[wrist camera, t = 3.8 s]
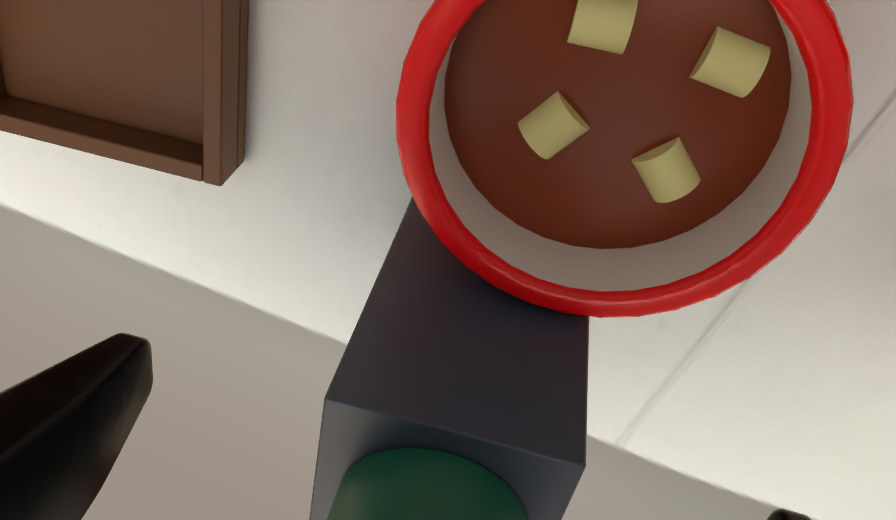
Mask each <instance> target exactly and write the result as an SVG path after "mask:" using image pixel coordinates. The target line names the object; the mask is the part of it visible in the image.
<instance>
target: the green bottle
mask: <svg viewBox="0 0 896 520" xmlns="http://www.w3.org/2000/svg"><path fill="white" fill-rule="evenodd" d="M327 520H527V519H526V515H525V512H524V508H523V506H522V504H521V502H520V500H519V498H518V497H517V496H516V494H515V493H514V491H513V490H512V489H511V488H510V487H509V486H508V485H507V484H506V483H505V482H504V481H503V480H502V479H501V478H499V477H498V476H497V475H496V474H494V473H493V472H491V471H490V470H488V469H487V468H485V467H483V466H482V465H480V464H478V463H476V462H474V461H472V460H469V459H467V458H464V457H462V456H459V455H456V454H452V453H449V452H445V451H440V450H436V449H428V448H415V447H406V448H394V449H388V450H384V451H380V452H377V453H374V454H371V455H369V456H367V457H365V458H363V459H362V460H360V461H358V462H357V463H356V464H354V465H353V466H352V467H351V468H350V469H349V470H348V471H347V472H346V474H345V475H344V476H343V478H342V480H341V482H340V485H339V488H338V490H337V493H336V496H335V499H334V501H333V504H332V507H331V510H330V512H329V515H328V518H327Z"/></svg>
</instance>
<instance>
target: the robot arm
mask: <svg viewBox="0 0 896 520" xmlns="http://www.w3.org/2000/svg"><path fill="white" fill-rule="evenodd" d="M152 383H153V373H152V355H151V345H150V342H149V341H148V340H147V339H145V338H142V337H138V336H135V335H131V334H127V333H118V334H115V335H113V336H111V337H109V338H107V339H105V340H103V341H101V342H99V343H97V344H95V345H93V346H91V347H89V348H87V349H85V350H83V351H81V352H79V353H77V354H76V355H73V356H72V357H69V358H67V359H65V360H63V361H62V362H60V363H58V364H56V365H54V366H52V367H50V368H48V369H46V370H44V371H42V372H40V373H38V374H36V375H34V376H32V377H30V378H28V379H26V380H24V381H22V382H20V383H18V384H16V385H14V386H12V387H10V388H8V389H6V390H4V391H2V392H0V520H81V519H82V517H83V516H84V514H85V513H86V511H87V510H88V508H89V507H90V505H91V504H92V502H93V500H94V499H95V497H96V496H97V494H98V492H99V491H100V489H101V487H102V486H103V484H104V482H105V480H106V478H107V476H108V474H109V472H110V471H111V469H112V467H113V465H114V463H115V461H116V459H117V457H118V455H119V453H120V451H121V449H122V447H123V445H124V443H125V441H126V439H127V437H128V435H129V434H130V431H131V430H132V428H133V425H134V424H135V422H136V420H137V418H138V416H139V414H140V412H141V410H142V408H143V406H144V404H145V402H146V400H147V398H148V396H149V394H150V391H151V388H152ZM767 520H811V519H810V518H809V517H808V516H806V515H804V514H800V513H797V512H793V511H789V510H785V509H777V510H775V511H773V513H771V515H770V516H769V517H768V519H767Z"/></svg>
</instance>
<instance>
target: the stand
mask: <svg viewBox="0 0 896 520" xmlns="http://www.w3.org/2000/svg"><path fill="white" fill-rule="evenodd" d="M588 344H589V316H584V315H576V314H569V313H562V312H559V311H555V310H552V309H548V308H545V307H541V306H538V305H534V304H531V303H527V302H525V301H523V300H521V299H519V298H517V297H515V296H513V295H511V294H509V293H506V292H504V291H502V290H500V289H498V288H496V287H494V286H493V285H491V284H490V283H488V282H487V281H486V280H484V279H483V278H481V277H480V276H478V275H477V274H475V273H474V272H473V271H471V270H470V269H468V268H467V267H466V266H465V265H463V264H462V263H461V262H460V261H459V260H458V259H457V258H456V257H455V256H454V255H453V254H452V253H451V252H450V251H449V250H448V249H447V248H446V247H445V246H444V245H443V244H442V243H441V241H440V240H439V239H438V238H437V236H436V235H435V233H434V232H433V230H432V229H431V227H430V226H429V225H428V223H427V222H426V220H425V219H424V217H423V216H422V214H421V213H420V211H419V209H418V207H417V205H416V202H415V200H414V198H413V197H412V199H411V201H410V203H409V206H408V208H407V210H406V213H405V215H404V217H403V219H402V222H401V224H400V226H399V229H398V231H397V233H396V235H395V238H394V240H393V242H392V245H391V247H390V249H389V251H388V254H387V256H386V258H385V261H384V263H383V265H382V267H381V270H380V272H379V274H378V277H377V279H376V281H375V283H374V286H373V288H372V290H371V293H370V295H369V297H368V299H367V302H366V304H365V306H364V309H363V311H362V313H361V315H360V318H359V320H358V322H357V325H356V327H355V329H354V331H353V334H352V336H351V338H350V341H349V343H348V345H347V347H346V350H345V352H344V354H343V357H342V359H341V361H340V363H339V366H338V368H337V370H336V373H335V375H334V377H333V380H332V382H331V384H330V386H329V389H328V391H327V393H326V396H325V399H324V407H323V415H322V422H321V430H320V438H319V439H320V440H319V446H318V455H317V462H316V471H315V479H314V486H313V494H312V502H311V511H310V519H309V520H327V518H328V515H329V512H330V510H331V507H332V504H333V501H334V499H335V496H336V493H337V490H338V488H339V485H340V482H341V480H342V478H343V476H344V475H345V474H346V472H347V471H348V470H349V469H350V468H351V467H352V466H353V465H354V464H356V463H357V462H358V461H360V460H362V459H363V458H365V457H367V456H369V455H371V454H374V453H377V452H380V451H384V450H388V449H394V448H406V447H415V448H428V449H436V450H440V451H445V452H449V453H452V454H456V455H459V456H462V457H464V458H467V459H469V460H472V461H474V462H476V463H478V464H480V465H482V466H483V467H485V468H487V469H488V470H490V471H491V472H493V473H494V474H496V475H497V476H498V477H499V478H501V479H502V480H503V481H504V482H505V483H506V484H507V485H508V486H509V487H510V488H511V489H512V490H513V491H514V493H515V494H516V496H517V497H518V498H519V500H520V502H521V504H522V506H523V508H524V512H525V515H526V519H527V520H561V519H562V517H563V514H564V513H565V510H566V508H567V506H568V504H569V502H570V500H571V497H572V495H573V493H574V491H575V489H576V487H577V484H578V482H579V480H580V478H581V476H582V473H583V471H584V469H585V467H586V434H587V389H588Z"/></svg>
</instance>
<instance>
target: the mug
mask: <svg viewBox="0 0 896 520" xmlns="http://www.w3.org/2000/svg"><path fill="white" fill-rule="evenodd" d="M853 101H854V99H853V89H852V79H851V69H850V59H849V54H848V51H847V48H846V45H845V43H844V40H843V37H842V34H841V31H840V29H839V26H838V23H837V20H836V17H835V14H834V12H833V11H832V9H831V8H830V6H829V5H828V3H827V2H826V0H435V1H434V3H433V4H432V6H431V7H430V9H429V10H428V12H427V13H426V15H425V16H424V17H423V19H422V20H421V22H420V24H419V27H418V29H417V31H416V34H415V36H414V38H413V41H412V43H411V45H410V48H409V50H408V53H407V55H406V57H405V60H404V63H403V68H402V73H401V78H400V84H399V89H398V94H397V99H396V133H397V144H398V149H399V154H400V158H401V163H402V167H403V172H404V176H405V179H406V182H407V184H408V186H409V189H410V191H411V193H412V196H413V198H414V200H415V202H416V205H417V207H418V209H419V211H420V213H421V214H422V216H423V217H424V219H425V220H426V222H427V223H428V225H429V226H430V227H431V229H432V230H433V232H434V233H435V235H436V236H437V238H438V239H439V240H440V241H441V243H442V244H443V245H444V246H445V247H446V248H447V249H448V250H449V251H450V252H451V253H452V254H453V255H454V256H455V257H456V258H457V259H458V260H459V261H460V262H461V263H462V264H463V265H465V266H466V267H467V268H468V269H470V270H471V271H473V272H474V273H475V274H477V275H478V276H480V277H481V278H483V279H484V280H486V281H487V282H488V283H490V284H491V285H493V286H494V287H496V288H498V289H500V290H502V291H504V292H506V293H509V294H511V295H513V296H515V297H517V298H519V299H521V300H523V301H525V302H527V303H531V304H534V305H538V306H541V307H545V308H548V309H552V310H555V311H559V312H562V313H569V314H576V315H584V316H592V317H599V318H603V317H640V316H644V315H650V314H656V313H661V312H667V311H672V310H678V309H680V308H683V307H686V306H689V305H692V304H695V303H698V302H701V301H703V300H706V299H709V298H712V297H715V296H717V295H719V294H720V293H722V292H724V291H726V290H728V289H730V288H732V287H734V286H735V285H737V284H739V283H741V282H743V281H745V280H747V279H749V278H750V277H752V276H753V275H754V274H756V273H757V272H758V271H759V270H761V269H762V268H763V267H765V266H766V265H767V264H769V263H770V262H771V261H772V260H774V259H775V258H776V257H778V256H779V255H780V254H781V253H783V252H784V251H785V249H786V248H787V247H788V246H789V245H790V244H791V243H792V242H793V241H794V240H795V239H796V237H797V236H798V235H799V234H800V233H801V232H802V231H803V230H804V229H805V228H806V227H807V225H808V224H809V223H810V222H811V220H812V219H813V217H814V216H815V214H816V213H817V211H818V209H819V208H820V206H821V204H822V203H823V201H824V200H825V198H826V196H827V195H828V193H829V191H830V190H831V188H832V186H833V184H834V181H835V179H836V176H837V173H838V171H839V168H840V165H841V162H842V160H843V157H844V154H845V151H846V148H847V145H848V139H849V131H850V123H851V116H852V108H853Z"/></svg>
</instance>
